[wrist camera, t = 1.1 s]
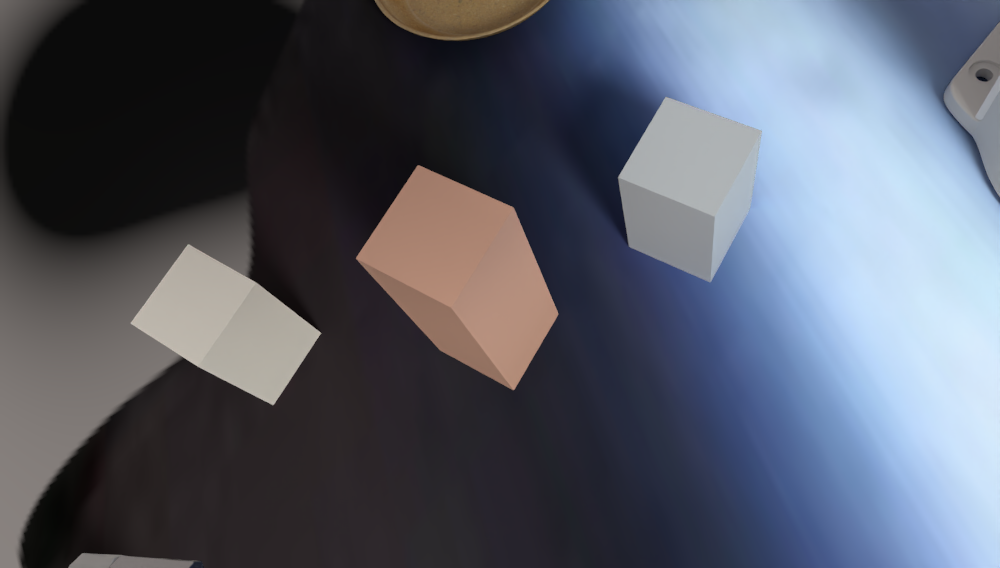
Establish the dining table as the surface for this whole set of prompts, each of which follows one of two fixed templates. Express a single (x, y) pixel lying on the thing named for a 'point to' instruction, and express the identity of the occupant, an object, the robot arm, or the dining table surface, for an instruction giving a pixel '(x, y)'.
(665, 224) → the grey-blue block
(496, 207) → the coral block
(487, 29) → the plant saucer
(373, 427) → the dining table surface
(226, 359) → the off-white block
